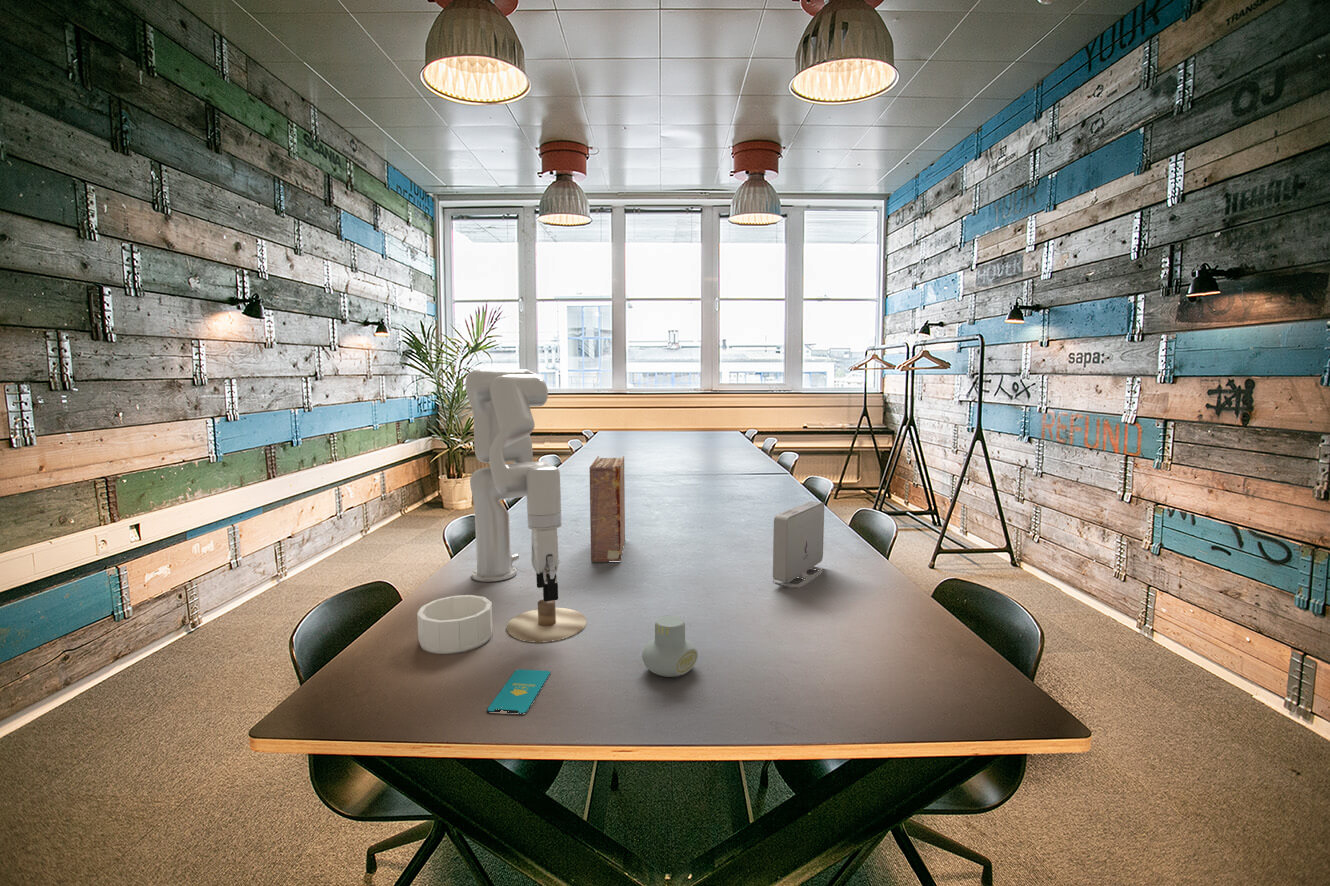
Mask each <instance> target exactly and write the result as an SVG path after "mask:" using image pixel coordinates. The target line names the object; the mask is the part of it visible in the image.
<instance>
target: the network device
mask: <svg viewBox="0 0 1330 886" xmlns="http://www.w3.org/2000/svg"><path fill="white" fill-rule="evenodd" d="M824 529H825V503H824V502H822V501H816V500H815V501H814V500H810V501H807V502H805V503H803V504H802V503H801V504H800V505H797V506H795V507H792V508H790V509H788V510H785V511H783V512H780V513H778V514H775V516H774V518H773V544H772V545H773V547H772V582H773V583H774V582H775V583H777V584H776V585H778V584H781V585H780V586H783V585H785V586H784V587H787V586H790V587H789V588H793V587H798V588H801V587H800V586H802V587H804V586H805V585H806V583H807V582H808V583H810V582H811V581H812V580H811V579H813V578H814V579H815V577H816V576H817V575H819V574H820V573H823V569H822V568H820V567H817V566H816V565H819V564H820V563H821V562H822V561H823V558H824V538H825V537H824ZM810 568H812V569H816V570H819V571H816V570H815V573H813V574H808V573H807V572H808V571H809V570H812V569H810ZM820 575H821V574H820ZM820 575H819V576H820ZM796 577H799V578H803V579H805V580H803V579H802V581H800V582H799V583H797V584H796V583H792V582H791V581H793V580H794V579H797V578H796ZM817 577H818V576H817ZM817 577H816V578H817ZM799 578H798V579H799ZM814 579H813V580H814ZM810 580H811V581H810ZM809 581H810V582H809ZM790 582H791V583H790ZM775 583H774V584H775ZM808 583H807V584H808ZM804 584H805V585H804ZM803 585H804V586H803Z"/></svg>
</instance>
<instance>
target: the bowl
mask: <svg viewBox="0 0 1330 886" xmlns="http://www.w3.org/2000/svg"><path fill="white" fill-rule="evenodd" d="M492 603H493V602H492V601H491V600H490V599H488V598H487V597H485V596H481V595H474V594H465V595H462V594H461V595H460V594H459V595H451V596H446V597H442V598H438V599H435V600H432V601H430V602H428V603H426V604H424V605H422V606H421V607H420V609H418V612H417V613H416V615H417V616H416V617H417V620H416V621H417V637H418V642H419V646H420V648H421V649H422V651H425V652H426V653H430V654H435V655H451V654H452V655H453V654H460V653H465V652H469V651H472V650H475V649H477V648H479V647H482V646H483V645H485V644H486V643H488V642H489V640H491V638H492V636H493V629H494V628H493V607H492V606H493V604H492Z"/></svg>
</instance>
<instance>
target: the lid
mask: <svg viewBox="0 0 1330 886" xmlns="http://www.w3.org/2000/svg"><path fill="white" fill-rule="evenodd" d="M585 625H587V618H586V616H585V615H584V614H583V613H581V612H579V611H577V610H574V609H570V608H565V607H556V600H553V601H546V602H545V601H544V600H543V598H542V599H540V600H538V601H537V608H536V609H532V610H529V611H528V610H527V611H525V612H522V613H519V614H518V615H516V616H514V617H513V618H512V619H510V620H509V622H507V625H506V630H507V631H508V632H507V631H506V632H507V633H508V635H509V634H510V635H511V636H510V635H509V636H510V637H512V638H513V637H515V638H517V639H516V640H518V639H521V640H525V641H524V642H526V641H535V642H534V643H544V642H543V641H552V640H558V641H560V640H559V639H562V638H566V637H569V636H572V635H574V634H576V633H578V632H579V633H581V632H582V631H583V630H584V629H585V628H586V626H585ZM584 627H585V628H584ZM583 628H584V629H583ZM582 629H583V630H582ZM581 630H582V631H581ZM580 631H581V632H580ZM579 633H578V634H579ZM576 635H577V634H576ZM574 636H575V635H574ZM572 637H573V636H572ZM515 638H514V639H515ZM569 638H570V637H569ZM566 639H567V638H566ZM521 640H520V641H521ZM552 642H553V641H552Z"/></svg>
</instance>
